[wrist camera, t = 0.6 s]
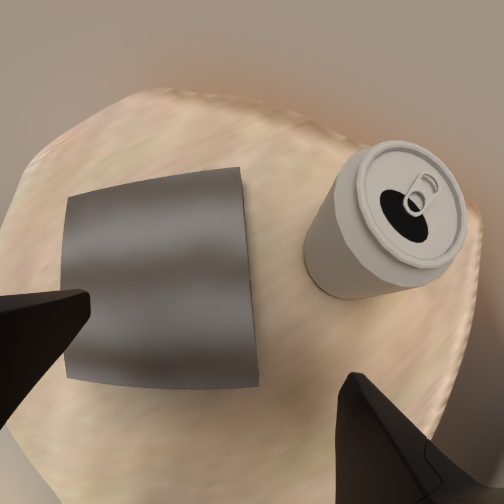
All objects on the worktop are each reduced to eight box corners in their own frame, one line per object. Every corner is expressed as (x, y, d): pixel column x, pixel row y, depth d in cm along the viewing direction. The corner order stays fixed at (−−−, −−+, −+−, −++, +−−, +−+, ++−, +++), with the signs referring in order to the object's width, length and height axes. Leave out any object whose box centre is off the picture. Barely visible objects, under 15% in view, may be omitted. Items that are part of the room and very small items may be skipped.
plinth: (259, 376, 20) (258, 386, 17) (85, 372, 20) (67, 377, 17) (242, 184, 23) (239, 166, 20) (84, 208, 24) (68, 197, 21)
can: (282, 254, 22) (305, 188, 10) (341, 195, 23) (395, 104, 11) (348, 319, 21) (435, 321, 9) (400, 254, 22) (493, 206, 10)
